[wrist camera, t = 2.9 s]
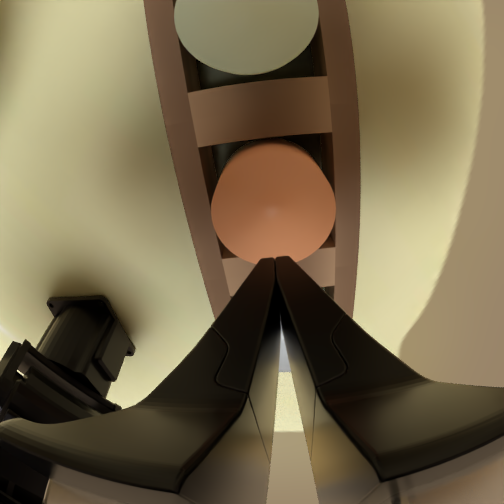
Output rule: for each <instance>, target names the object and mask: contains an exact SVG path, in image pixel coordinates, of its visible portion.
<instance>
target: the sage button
mask: <svg viewBox="0 0 504 504" xmlns="http://www.w3.org/2000/svg"><path fill="white" fill-rule="evenodd" d="M318 17H319V11H318V3H317V0H176V4H175V10H174V22H175V27H176V31H177V34H178V36H179V39H180V40H181V42H182V44H183V45H184V47H185V48H186V49H187V50H188V51H189V52H190V53H191V54H192V55H193V56H194V57H195V58H196V59H198V60H199V61H201V62H202V63H204V64H206V65H208V66H209V67H212V68H214V69H217V70H220V71H224V72H228V73H232V74H236V75H246V76H251V75H260V74H265V73H268V72H271V71H274V70H276V69H278V68H280V67H282V66H284V65H285V64H287V63H288V62H290V61H292V60H293V59H294V58H296V57H297V56H298V55H299V54H300V53H301V52H302V51H303V50H304V49H305V48H306V47H307V46H308V44H309V43H310V41H311V40H312V38H313V36H314V34H315V31H316V29H317V24H318Z"/></svg>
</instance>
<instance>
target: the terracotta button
mask: <svg viewBox="0 0 504 504" xmlns="http://www.w3.org/2000/svg"><path fill="white" fill-rule="evenodd" d="M335 216H336V202H335V197H334V193H333V190H332V188H331V186H330V184H329V182H328V180H327V179H326V177H325V176H324V174H323V172H322V171H321V169H320V168H319V166H318V165H317V163H316V161H315V160H314V159H313V157H312V156H311V155H310V154H309V153H308V152H307V151H306V150H305V149H304V148H302V147H301V146H299V145H298V144H296V143H294V142H291V141H288V140H285V139H281V138H262V139H257V140H254V141H251V142H249V143H247V144H245V145H243V146H242V147H240V148H239V149H238V150H237V151H235V152H234V153H233V154H232V155H231V157H230V158H229V159H228V161H227V162H226V164H225V166H224V168H223V170H222V173H221V176H220V178H219V181H218V184H217V186H216V189H215V192H214V195H213V198H212V204H211V217H212V223H213V226H214V229H215V231H216V233H217V236H218V237H219V239H220V240H221V242H222V243H223V244H224V245H225V247H226V248H228V249H229V250H230V251H231V252H232V253H233V254H235V255H236V256H238V257H239V258H241V259H243V260H245V261H248V262H250V263H254V264H257V263H258V261H259V260H260V259H261V258H269V257H273V258H274V259H275V258H276V257H278V256H290V257H291V258H292V259H293V260H294V261H295V262H298V261H300V260H302V259H304V258H306V257H308V256H310V255H311V254H312V253H314V252H315V251H316V250H317V249H318V248H320V246H321V245H322V244H323V243H324V242H325V240H326V239H327V238H328V236H329V234H330V232H331V230H332V228H333V225H334V221H335Z"/></svg>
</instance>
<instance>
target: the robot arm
mask: <svg viewBox="0 0 504 504" xmlns="http://www.w3.org/2000/svg"><path fill="white" fill-rule="evenodd" d="M47 306H48V307H49V309H50V311H51V312H52V314H53V316H54V318H53V320H52V322H51V323H50V325H49V327H48V328H47V330H46V331H45V333H44V335H43V336H42V338H41V340H40V342H39V343H38V345H37V347H36V349H35V348H34V347H33V346H32V345H31V343H30V342H29V341H27V340H26V339H25V340H24V342H23V344H21V343H17V342H14V341H12V343H11V345H10V346H9V348H8V350H7V351H6V353H5V355H4V356H3V358H2V360H1V361H0V504H266V500H267V491H268V483H269V474H270V463H271V454H272V443H273V433H274V422H275V410H276V398H277V386H278V372H279V358H280V343H281V326H282V332H283V337H284V342H285V346H286V351H287V355H288V360H289V364H290V369H291V373H292V378H293V382H294V387H295V391H296V396H297V400H298V405H299V410H300V414H301V419H302V424H303V428H304V433H305V437H306V442H307V446H308V451H309V456H310V461H311V466H312V471H313V475H314V480H315V485H316V490H317V495H318V500H319V504H504V387H503V388H502V387H501V388H500V387H486V386H473V385H462V384H453V383H444V382H437V381H433V380H430V379H428V378H425V377H423V376H422V375H420V374H418V373H417V372H415V371H414V370H413V369H411V368H410V367H409V366H408V365H406V364H405V363H404V362H402V361H401V360H400V359H399V358H397V357H396V356H395V355H394V354H392V353H391V352H390V351H389V350H387V349H386V348H385V347H383V346H382V345H381V344H380V343H378V342H377V341H376V340H375V339H374V338H372V337H371V336H370V335H369V334H368V333H366V332H365V331H364V330H363V329H362V328H361V327H360V326H359V325H358V324H357V323H356V322H355V321H354V320H353V319H352V318H351V317H350V316H349V315H348V314H346V312H345V311H344V310H343V309H342V308H341V307H340V306H339V305H338V304H337V303H336V302H335V301H334V300H333V299H332V298H331V297H330V296H329V295H328V294H327V293H326V292H325V291H324V290H323V289H322V288H321V287H320V286H319V285H318V284H317V283H316V282H315V281H314V280H313V279H312V278H311V277H310V276H309V275H308V274H307V273H306V272H305V271H304V270H303V269H302V268H301V267H300V266H299V265H298V264H297V263H296V262H295V261H294V260H293V259H292V258H291V257H290V256H278V257H276V258H275V259H274V258H273V257H269V258H261V259H260V260H259V261H258V263H257V264H256V265H255V267H254V268H253V269H252V271H251V272H250V274H249V275H248V276H247V278H246V279H245V280H244V282H243V283H242V284H241V286H240V287H239V289H238V290H237V291H236V293H235V294H234V295H233V297H232V298H231V299H230V301H229V302H228V303H227V305H226V306H225V308H224V309H223V310H222V312H221V313H220V314H219V316H218V317H217V318H216V320H215V321H214V322H213V324H212V325H211V327H210V328H209V329H208V330H207V332H206V333H205V334H204V336H203V337H202V338H201V340H200V341H199V342H198V343H197V345H196V346H195V347H194V348H193V349H192V351H191V352H190V353H189V354H188V355H187V356H186V357H185V358H184V359H183V360H182V362H181V363H180V364H179V365H178V366H177V367H176V368H175V369H174V370H173V371H172V372H171V373H170V374H169V375H168V376H167V377H166V378H165V379H164V380H163V381H162V382H161V383H160V384H159V385H158V386H157V387H156V388H155V389H154V390H153V391H152V392H151V393H150V394H149V395H148V396H147V397H146V398H145V399H143V400H142V401H141V402H139V403H137V404H136V405H134V406H131V407H129V408H126V409H122V407H121V406H119V405H117V404H116V403H115V404H114V403H112V402H110V401H109V400H107V399H106V396H107V393H108V391H109V388H110V385H111V382H115V381H116V380H117V377H118V374H119V372H120V369H121V366H122V363H123V361H124V358H125V356H133V355H134V353H135V349H134V347H133V345H132V344H131V342H130V340H129V338H128V337H127V335H126V333H125V331H124V330H123V328H122V326H121V324H120V322H119V320H118V319H117V317H116V315H115V313H114V311H113V309H112V307H111V305H110V303H109V301H108V300H107V299H106V298H105V297H103V296H86V297H63V298H49V300H48V301H47ZM280 317H281V318H280ZM17 369H18V370H19V371H20V372H22V373H23V374H24V376H22V375H21V374H19V373H18V372H17ZM121 409H122V410H121Z"/></svg>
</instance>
